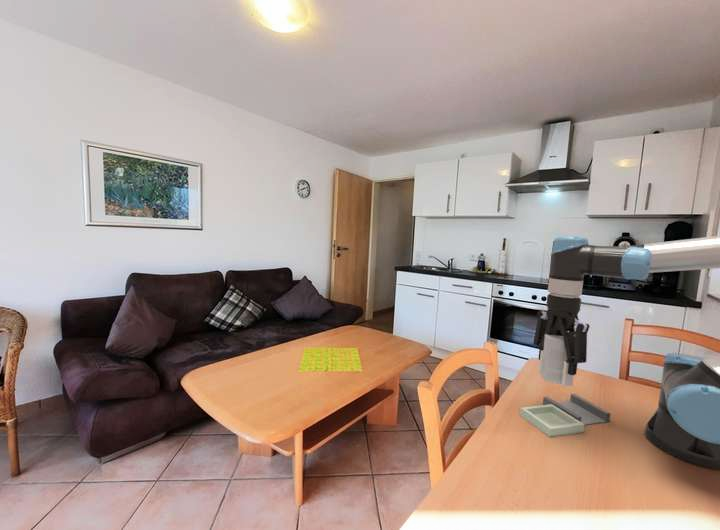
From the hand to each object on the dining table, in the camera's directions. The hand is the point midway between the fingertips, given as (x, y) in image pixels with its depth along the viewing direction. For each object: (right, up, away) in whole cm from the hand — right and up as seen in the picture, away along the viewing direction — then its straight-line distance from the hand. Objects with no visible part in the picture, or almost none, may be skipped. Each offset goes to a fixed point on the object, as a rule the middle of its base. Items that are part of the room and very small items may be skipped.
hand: (554, 378), depth 83 cm
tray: (-1, -13, +1) cm, 13 cm away
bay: (+10, -13, +7) cm, 18 cm away
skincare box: (0, -1, 0) cm, 1 cm away
